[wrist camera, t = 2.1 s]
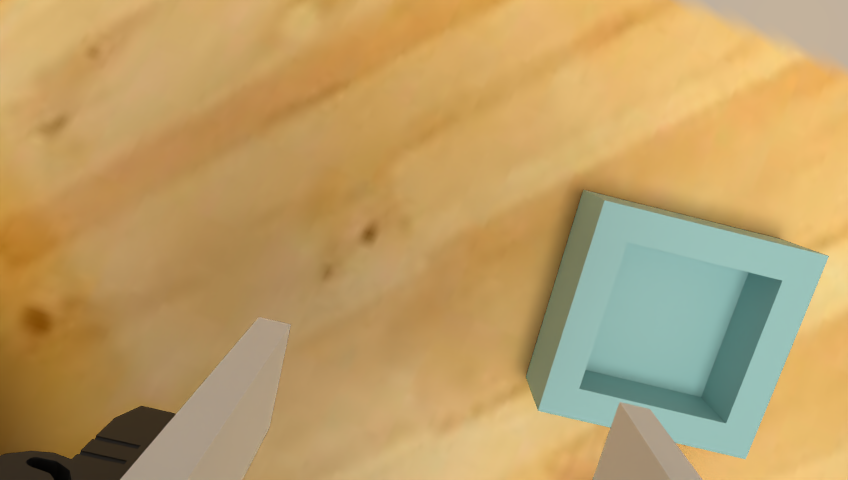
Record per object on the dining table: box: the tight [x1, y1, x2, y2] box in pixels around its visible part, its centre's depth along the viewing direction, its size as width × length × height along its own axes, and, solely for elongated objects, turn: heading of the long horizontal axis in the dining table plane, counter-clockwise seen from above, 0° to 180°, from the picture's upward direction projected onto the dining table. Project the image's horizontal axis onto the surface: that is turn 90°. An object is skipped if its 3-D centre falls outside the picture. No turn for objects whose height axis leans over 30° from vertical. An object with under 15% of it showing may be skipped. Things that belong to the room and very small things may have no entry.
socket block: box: [526, 190, 829, 459], centre depth 27 cm, size 10×10×4 cm
